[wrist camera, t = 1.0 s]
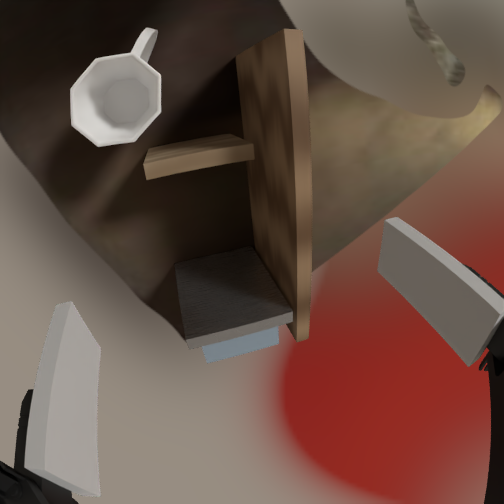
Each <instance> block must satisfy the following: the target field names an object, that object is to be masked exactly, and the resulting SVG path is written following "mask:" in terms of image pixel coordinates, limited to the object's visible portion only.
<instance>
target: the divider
mask: <svg viewBox="0 0 504 504" xmlns="http://www.w3.org/2000/svg"><path fill="white" fill-rule="evenodd" d="M254 159H255V157H254V146H253V143H250V142H248V141H246V140H244V139H241V138H239V137H237V136H234V135H232V134H230V133H229V134H222V135H216V136H210V137H204V138H198V139H192V140H187V141H182V142H177V143H172V144H167V145H163V146H158V147H154V148H149V149H148V152H147V155H146V158H145V161H144V164H143V165H144V170H145V175H146V180H150V179H154V178H158V177H163V176H167V175H172V174H176V173H181V172H186V171H191V170H196V169H201V168H206V167H212V166H217V165H223V164H229V163H235V162H241V161H247V160H254Z"/></svg>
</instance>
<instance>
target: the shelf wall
mask: <svg viewBox="0 0 504 504" xmlns="http://www.w3.org/2000/svg"><path fill="white" fill-rule="evenodd" d="M236 67H237V76H238V86H239V95H240V105H241V115H242V125H243V134H244V140H246V141H248V142H250V143H253V146H254V157H255V159H254V160H247V161H246V164H247V174H248V184H249V194H250V204H251V214H252V224H253V234H254V244H255V252H256V254H257V256H258V257H259V259H260V260H261V262H262V264H263V265H264V267H265V268H266V270H267V271H268V273H269V275H270V276H271V278H272V279H273V281H274V283H275V284H276V286H277V287H278V289H279V290H280V292H281V294H282V295H283V297H284V298H285V300H286V302H287V303H288V305H289V306H290V308H291V309H292V311H293V322H290V323H287V324H286V325H287V326H288V328H289V330H290V332H291V333H292V335H293V337H294V339H295V340H296V342H299V341H302V340H305V339H308V337H309V320H310V299H311V269H312V167H311V139H310V118H309V101H308V87H307V74H306V62H305V52H304V42H303V33H302V30H296V29H283V30H281V31H279V32H277V33H275V34H273V35H271V36H270V37H268V38H266V39H264V40H262V41H261V42H259V43H257V44H255V45H254V46H252V47H250V48H249V49H247V50H245V51H244V52H242V53H240V54H239V55H237V56H236Z"/></svg>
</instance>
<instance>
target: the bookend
mask: <svg viewBox="0 0 504 504" xmlns="http://www.w3.org/2000/svg"><path fill="white" fill-rule="evenodd" d="M174 265H175V273H176V280H177V288H178V295H179V302H180V308H181V315H182V321H183V327H184V333H185V339H186V342H187V345H188V347H189V349H194V348H198V347H202V346H206V345H210V344H215V343H219V342H222V341H226V340H230V339H234V338H238V337H242V336H245V335H249V334H253V333H256V332H260V331H263V330H267V329H270V328H274V327H277V326H280V325H284V324H287V323H290V322H293V311H292V309H291V308H290V306H289V305H288V303H287V302H286V300H285V298H284V297H283V295H282V294H281V292H280V290H279V289H278V287H277V286H276V284H275V283H274V281H273V279H272V278H271V276H270V275H269V273H268V271H267V270H266V268H265V267H264V265H263V264H262V262H261V260H260V259H259V257H258V256H257V254H256V252H255V251H254V249H253V248H252V246H249V247H244V248H240V249H235V250H231V251H227V252H222V253H218V254H214V255H209V256H205V257H201V258H196V259H192V260H188V261H183V262H179V263H175V264H174Z"/></svg>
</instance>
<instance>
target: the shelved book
mask: <svg viewBox="0 0 504 504" xmlns="http://www.w3.org/2000/svg"><path fill="white" fill-rule="evenodd" d="M278 343H279V335H278V326H277V327H274V328H270V329H267V330H263V331H260V332H256V333H253V334H249V335H245V336H242V337H238V338H234V339H230V340H226V341H222V342H219V343H215V344H210V345H206V346H202V349H203V352H204V355H205V358H206V361H207V363H211V362H215V361H218V360H223V359H226V358H230V357H234V356H238V355H241V354H245V353H249V352H252V351H256V350H259V349H262V348H266V347H269V346H272V345H276V344H278Z"/></svg>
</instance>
